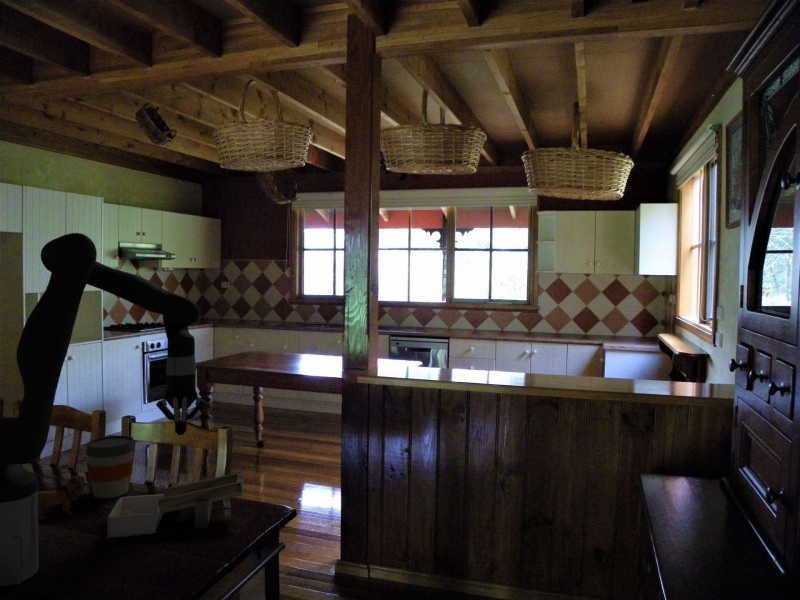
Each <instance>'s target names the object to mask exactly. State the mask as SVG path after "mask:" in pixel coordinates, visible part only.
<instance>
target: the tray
mask: <svg viewBox="0 0 800 600" xmlns="http://www.w3.org/2000/svg"><path fill="white" fill-rule="evenodd" d="M161 498H164V493H160V494H159V493H158V494H147V495H144V494H143V495H134V496H133V495H131V496H119V499H118V500H117V502H116V504H115V505H114V507H113V508H112V510H111V511H110V513H109V515H108V516H107V519H106V520H107V521H106V523H107V531H106V532H107V537H106V538H107V539H110V538H111V539H113V538H122V537H123V538H124V537H125V538H126V537H132V536H133V537H134V535H136V536H141V535H140V534H147V535H153V534H152V533H155V534H156V532H157V530H156V529H158V528H157V527H159V525H160V523H159V522H161V521H162V518H163V516H162V515H164V513H161V514H160V510H159V504H158V499H161ZM125 510H129V511H131V512H132V514H129V515H120V513H121V512H123V511H125ZM160 520H161V521H160ZM158 524H159V525H158Z"/></svg>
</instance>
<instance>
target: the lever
mask: <svg viewBox="0 0 800 600" xmlns="http://www.w3.org/2000/svg"><path fill="white" fill-rule="evenodd" d="M243 477H244V476H243V472H242V471H240V472H239V471H238V472H235V473H230V474H226V475H220V476H217V477H211V478H207V479H202V480H197V481H192V480H186V481H183V482H178V483H173V484H171V486H170V487H165V488H163V489H162V492H163V493H162V494H164V498H161V499H158V504H159V510H160V514H161V513H163V514H165V513H169V512H174V511H179V510H183V509H187V508H191V507H195V500H203V499H208V503H210V502H212V503H214V502H218V501H222V500H227V499H228V500H229V499H232V498H237V497H241V496H243V494H244V487H245V486H244V478H243Z"/></svg>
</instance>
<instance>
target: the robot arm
mask: <svg viewBox="0 0 800 600" xmlns="http://www.w3.org/2000/svg"><path fill="white" fill-rule="evenodd" d="M97 251H98V250H97V247H96V245H95V243H94V241H93V240H92V238H90V237H89V236H88V235H86V234H83V233H82V232H81V233H80V232H72V233H67V234H64V235H61V236H59V237H56V238H54V239H51V240H50V241H48V242H46V244H44V246H42V249H41V251H40V260H41V263H42V264H43V266H44V268H45V269H46V270H48V271H49V272H50V277H49V281H48V284H47V286H46V287H45V288H46V289H45V290H44V292H43V294H42V296H40V298H39V300H38V302H37V303H36V304H35V306H34V308H33V309H32V311H31V312H30V314H29V316H28V317H27V320H26V321H25V324H24V326H23V329H22V332H21V335H20V338H19V341H18V344H17V348H16V354H15V355H16V356H15V357H16V363H17V367H18V370H19V374H20V377H21V380H22V386H23V396H22V397H23V398H22V403H21V407H20V411H19V413H18V417H17V416H0V587H8V586H17V585H21V584H22V582H24V581H26V580H28V579H30V578H32V577H33V576H35V574H36V573H38V571H39V568H40V567H39V565H40V564H39V518H38V492H39V481H38V477H37V475H35V474H33V473H32V472H30V471H29V470H28V469H26V468H25V467H24V466H23V465H28V464H31V463H33V462H35V461H37V459H38V458H39V457H40V456H41V454H42V453H43V451H44V448H45V446H46V444H47V441H48V438H49V432H50V427H51V422H52V421H51V420H52V415H53V409H54V403H55V399H56V395H57V391H58V385H59V382H60V377H61V374H62V369H63V366H64V363H65V360H66V357H67V353H68V349H69V346H70V342H71V338H72V336H73V335H72V334H73V331H74V328H75V323H76V320H77V317H78V313H79V309H80V304H81V300H82V296H83V294H84V291H85V289H86V286H90V287H94V288H95V289H99V290H101V291H104V292H106V293H109V294H111V295H114V296H116V297H118V298H121V299H122V300H125V301H127V302H128V303H130V304H133V305H135V306H137V307H139V308H141V309H144V310H145V311H148V312H150V313H154V314H159V315H161V316H162V321H163V327H164V332H165V336H166V339H167V346H166V347H167V348H166V349H167V353H166V354H167V355H166V357H167V358H166V359H167V360H166V366H165V367H166V369H165V371H166V374H165V376H166V378H165V379H166V383H165V385H166V387H165V388H166V391H165V394H164V395H163V396H164V397H163V398H161V400H158V401H157V403H155V405H156V407H157V409H159V411H161V413H162V414H163V416H165V417H166V419H167V420H168V421H169V420H170V421H174V432H175V434H176V435H177V436H184V434H185V433H186V432H187V429H188V428H187V425H188V421H189V420H192V419H193V418H194V417H195V416H196V414H197V413H198V412H199V411H200V409H202V407H203V406H204V405H205V402H206V399H204V398H201V397H199V396H198V395H199V394H198V393H197V390H196V385H197V383H196V382H197V376H196V375H197V366H196V365H197V363H196V354H195V353H196V346H195V345H196V340H195V339H196V338H195V337H194V335H192V334H191V333H190V332H189V326H192V325H194V324H195V323H197V321H198V320H199V319H200V316H201V311H200V308H199V305H197V303H195V302H194V301H193V300H191V299H190V298H187V297H186V296H183V295H180V294H177V293H174V292H172V291H169V290H167V289H165V288H164V287H161V286H160V285H158V284H156V283H154V282H152V281H150V280H148V279H147V278H144V277H142V276H139V275H137V274H133V273H131V272H127V271H124V270H120V269H117V268H114V267H111V266H109V265H108V266H107V265H106V264H103V263H101V262H99V261H97V257H98V256H97V255H98V253H97ZM193 403H195V407H194V408H193V409H192V410H191V412H190V413H188V411H189V408H190V407H191V406H192V405H193ZM167 405H169V406H170V407H171V409H173V412H172V411H171V410H170V408H168V406H167Z"/></svg>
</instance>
